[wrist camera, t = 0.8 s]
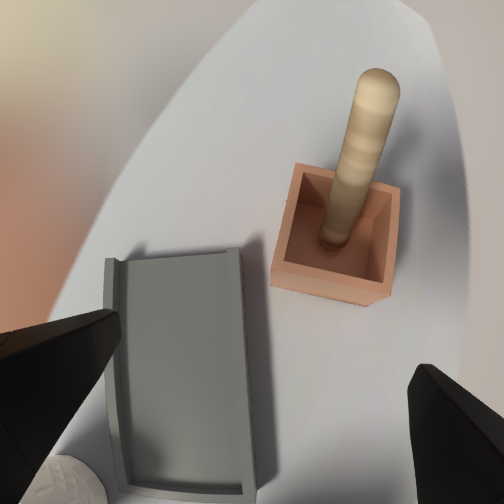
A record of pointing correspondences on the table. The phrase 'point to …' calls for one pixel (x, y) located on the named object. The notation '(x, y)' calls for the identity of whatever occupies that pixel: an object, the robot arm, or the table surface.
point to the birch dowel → (359, 155)
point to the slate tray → (180, 379)
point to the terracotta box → (342, 261)
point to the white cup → (65, 483)
